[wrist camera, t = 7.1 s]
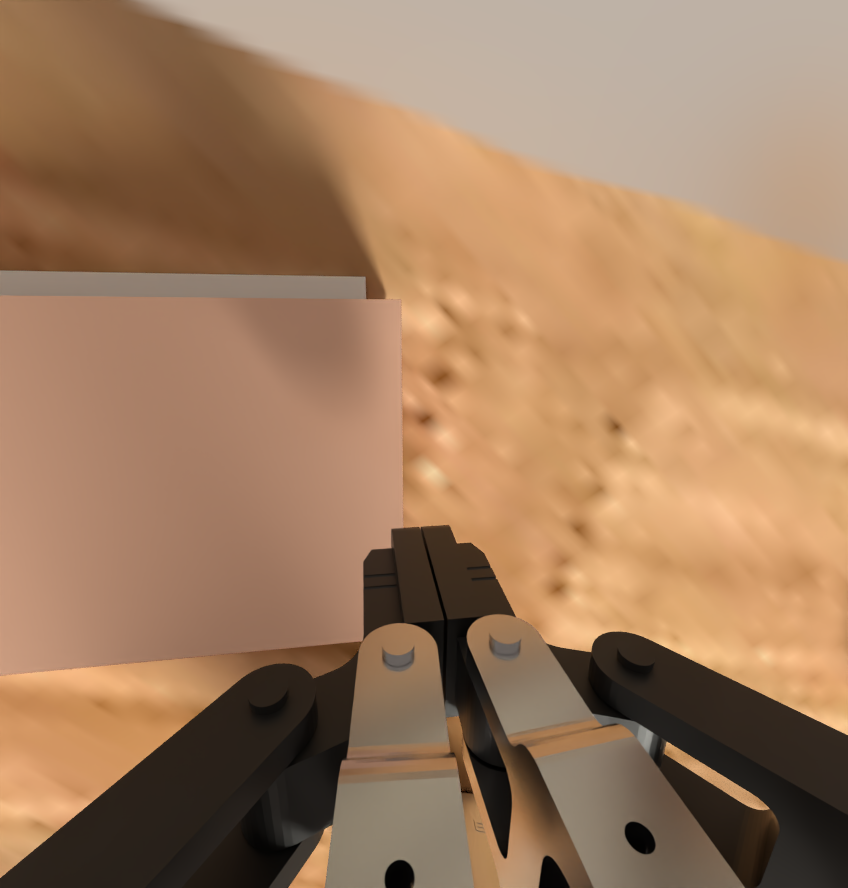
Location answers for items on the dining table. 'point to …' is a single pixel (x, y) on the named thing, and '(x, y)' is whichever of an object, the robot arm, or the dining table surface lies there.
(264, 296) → the mat
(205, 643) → the salmon pink box
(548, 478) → the dining table surface
